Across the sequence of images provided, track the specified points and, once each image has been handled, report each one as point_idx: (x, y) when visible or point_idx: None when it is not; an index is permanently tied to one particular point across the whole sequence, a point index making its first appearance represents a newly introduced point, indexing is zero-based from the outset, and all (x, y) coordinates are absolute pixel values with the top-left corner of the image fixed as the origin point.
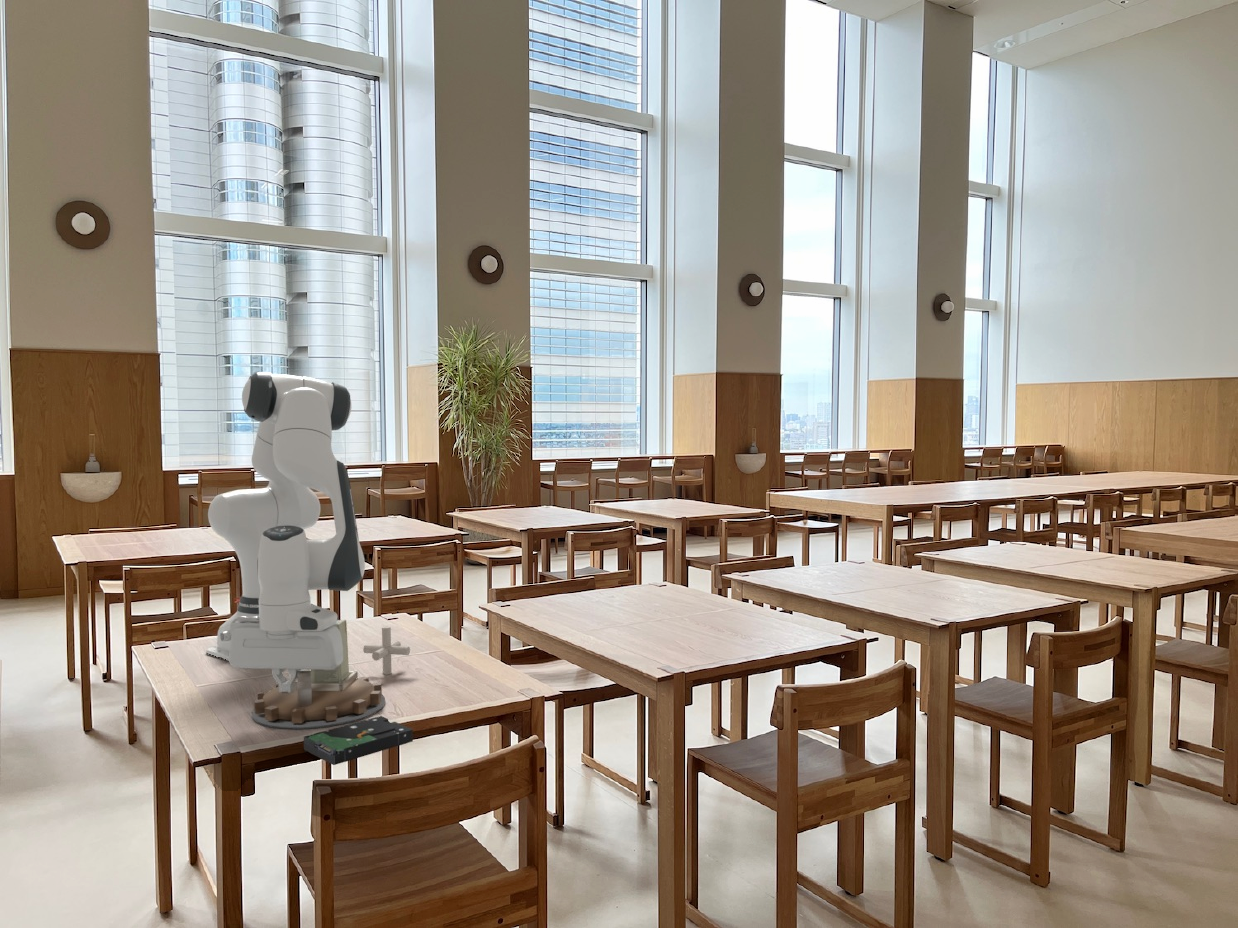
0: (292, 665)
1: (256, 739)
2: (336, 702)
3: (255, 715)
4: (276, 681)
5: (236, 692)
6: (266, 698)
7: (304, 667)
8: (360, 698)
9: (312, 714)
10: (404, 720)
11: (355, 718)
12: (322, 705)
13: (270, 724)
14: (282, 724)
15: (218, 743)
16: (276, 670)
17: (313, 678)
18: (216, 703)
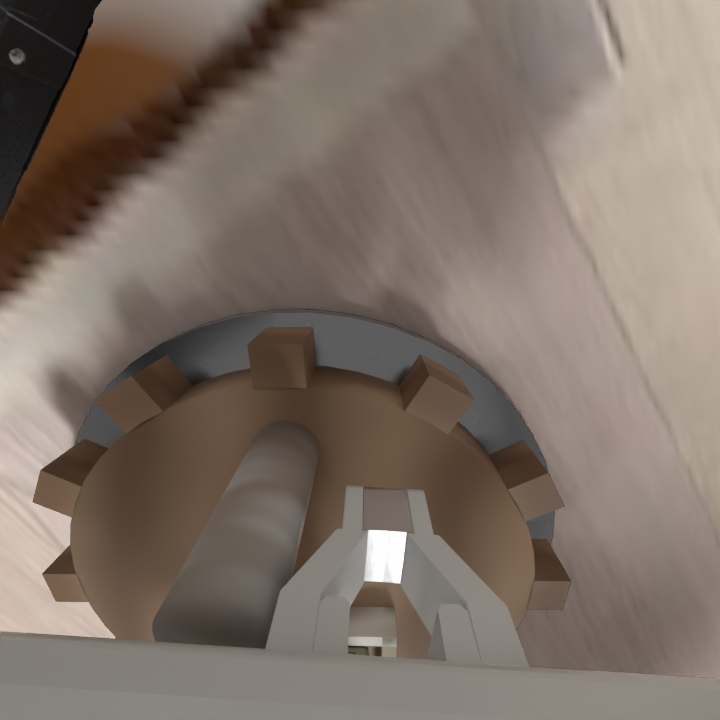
0: (252, 700)
1: (422, 160)
2: (149, 475)
3: (521, 439)
4: (452, 549)
5: (652, 656)
6: (510, 526)
7: (106, 662)
8: (75, 522)
9: (230, 380)
10: None
11: (91, 411)
12: (191, 436)
13: (418, 337)
14: (361, 332)
15: (605, 86)
16: (474, 647)
17: None
18: (705, 575)
